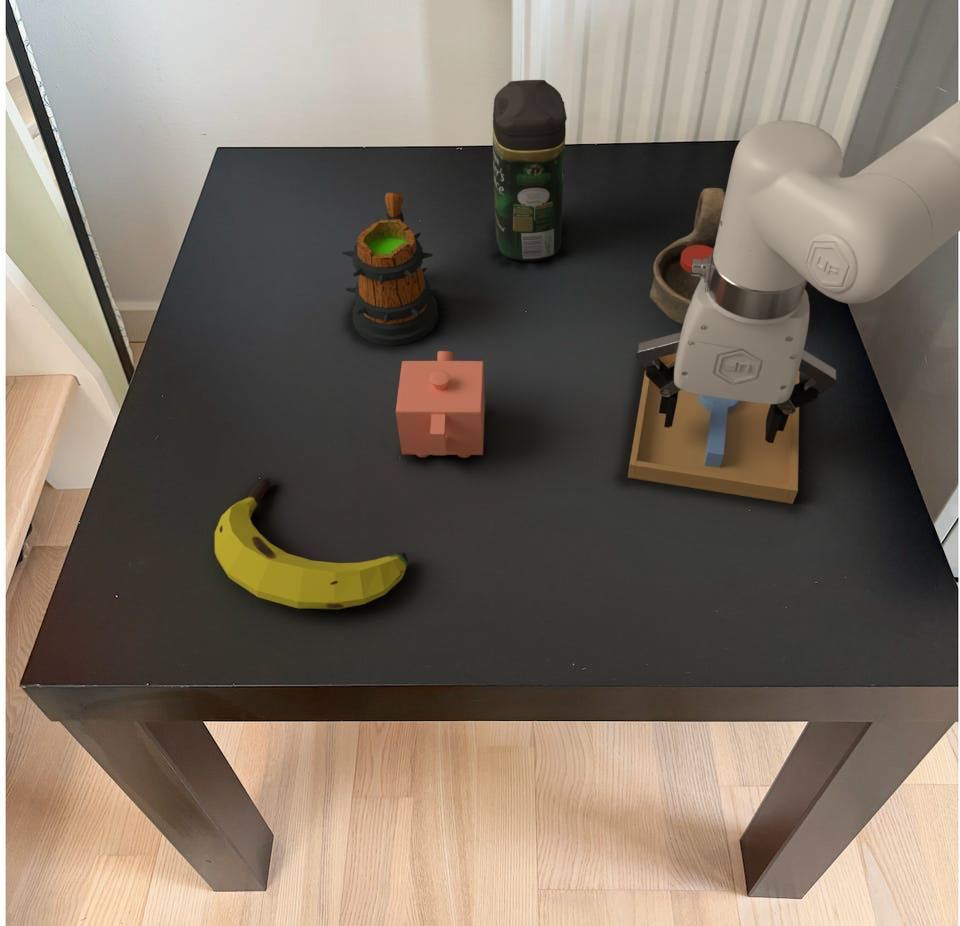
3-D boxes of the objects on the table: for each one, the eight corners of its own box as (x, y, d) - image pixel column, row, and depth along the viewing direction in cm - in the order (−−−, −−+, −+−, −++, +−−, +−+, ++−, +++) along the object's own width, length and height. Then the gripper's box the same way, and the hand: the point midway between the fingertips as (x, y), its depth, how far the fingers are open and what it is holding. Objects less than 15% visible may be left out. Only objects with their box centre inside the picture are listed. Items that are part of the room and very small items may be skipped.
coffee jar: (492, 217, 113) (489, 73, 98) (556, 214, 113) (562, 69, 98) (496, 267, 106) (494, 120, 92) (564, 263, 106) (571, 117, 92)
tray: (794, 380, 93) (799, 367, 92) (792, 504, 83) (798, 490, 82) (646, 360, 96) (649, 346, 94) (627, 477, 86) (629, 464, 84)
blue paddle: (733, 470, 85) (737, 456, 84) (690, 463, 86) (694, 449, 85) (739, 388, 92) (743, 374, 91) (700, 382, 93) (703, 368, 91)
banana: (403, 591, 74) (415, 468, 85) (189, 583, 73) (230, 461, 85) (403, 626, 77) (415, 503, 88) (198, 619, 76) (236, 496, 88)
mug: (436, 348, 98) (429, 262, 89) (343, 346, 99) (326, 260, 90) (447, 272, 106) (441, 186, 97) (361, 270, 107) (347, 185, 98)
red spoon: (788, 265, 95) (792, 249, 93) (785, 289, 93) (789, 273, 91) (682, 249, 97) (685, 233, 96) (677, 272, 95) (680, 256, 93)
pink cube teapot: (486, 388, 94) (484, 328, 88) (482, 478, 86) (479, 420, 80) (411, 387, 94) (403, 328, 88) (400, 478, 87) (391, 420, 80)
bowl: (649, 353, 97) (661, 278, 89) (642, 250, 108) (652, 176, 100) (781, 356, 96) (804, 282, 88) (760, 253, 107) (779, 179, 99)
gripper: (642, 296, 71) (621, 439, 85) (871, 325, 69) (813, 469, 82) (652, 239, 76) (631, 383, 89) (868, 264, 73) (813, 409, 87)
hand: (718, 424), depth 86 cm, fingers open, 9 cm apart
